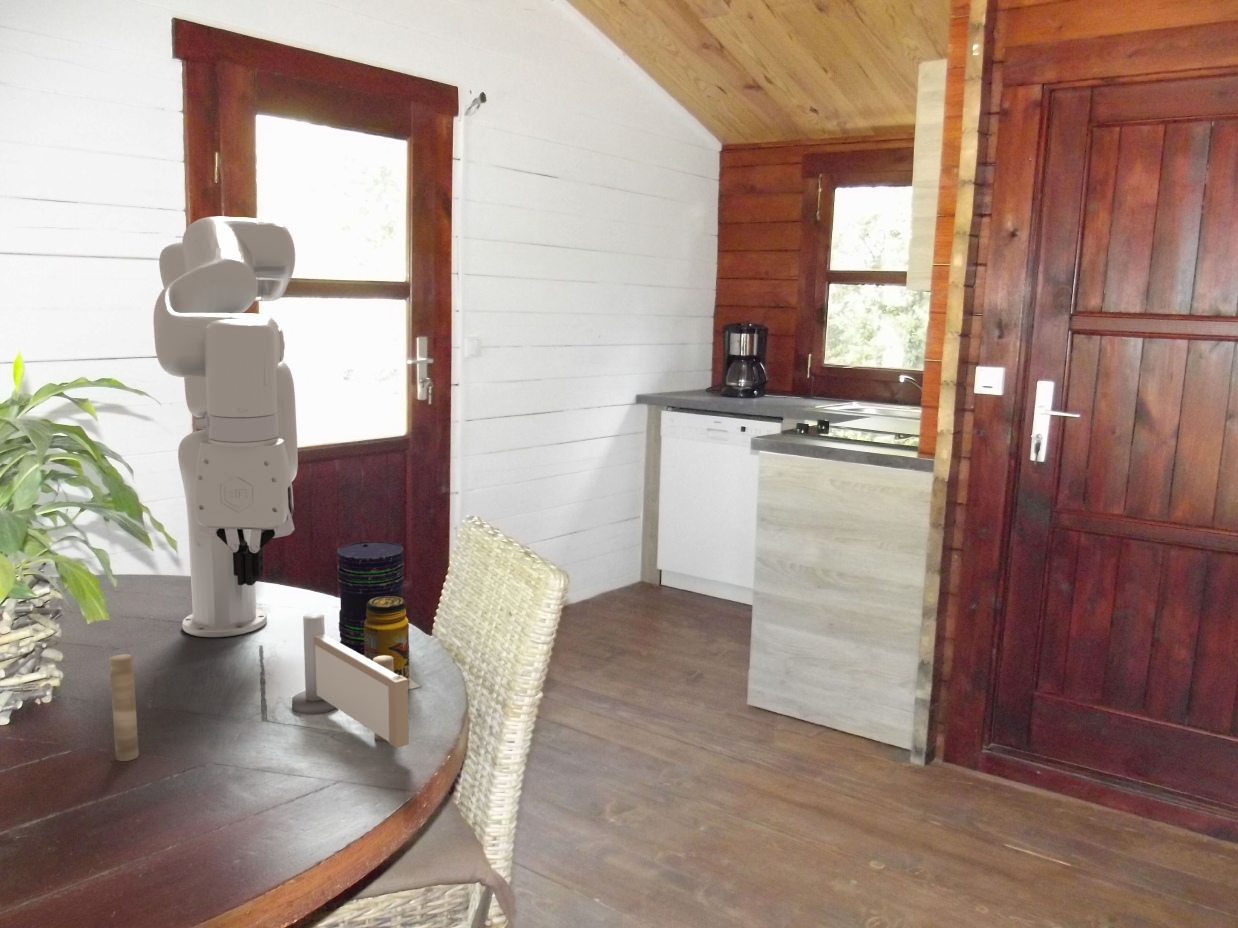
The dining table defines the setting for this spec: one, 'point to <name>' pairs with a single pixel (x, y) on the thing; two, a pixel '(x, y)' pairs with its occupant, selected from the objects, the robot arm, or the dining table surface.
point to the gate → (354, 684)
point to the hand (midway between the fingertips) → (249, 581)
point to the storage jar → (366, 584)
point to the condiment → (388, 633)
